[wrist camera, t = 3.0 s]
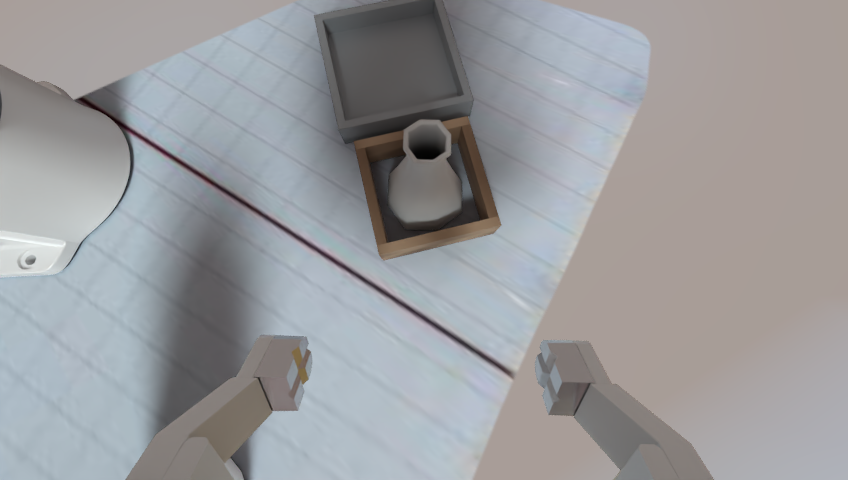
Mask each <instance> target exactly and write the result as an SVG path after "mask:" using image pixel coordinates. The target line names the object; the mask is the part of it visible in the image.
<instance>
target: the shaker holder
mask: <svg viewBox="0 0 848 480" xmlns="http://www.w3.org/2000/svg"><path fill="white" fill-rule="evenodd" d="M442 124H443V125H444V126H445V127H446V129H447V130H448V131H449V132H450V134H451V144H456V143H458V146H459V150H460V153H461V156H462V160H463V163H464V166H465V170H466V173H467V177H468V180H469V183H470V187H471V190H472V194H473V197H474V200H475V204H476V207H477V211H478V214H479V217H480V221H476V222H472V223H468V224H464V225H460V226H456V227H451V228H447V229H443V230H439V231H435V232H431V233H427V234H423V235H418V236H414V237H410V238H406V239H402V240H398V241H394V242H388V238H387V234H386V230H385V225H384V221H383V217H382V212H381V208H380V204H379V199H378V195H377V191H376V187H375V182H374V178H373V174H372V169H371V165H370V163H371V162H376V161H380V160H385V159H389V158H394V157H398V156H402V155H406V153H405V152H404V151H403V135H404V130H402V131H398V132H393V133H389V134H384V135H380V136H375V137H371V138H366V139H362V140H357V141H354V145H355V150H356V154H357V159H358V163H359V167H360V172H361V176H362V181H363V185H364V190H365V194H366V199H367V203H368V208H369V212H370V216H371V221H372V225H373V230H374V234H375V239H376V243H377V248H378V252H379V255H380V257H381V258H382V259H383V260H387V259H391V258H395V257H399V256H404V255H408V254H412V253H416V252H420V251H424V250H428V249H432V248H436V247H440V246H444V245H449V244H453V243H457V242H461V241H465V240H469V239H473V238H477V237H481V236H485V235H489V234H493V233H494V232H495V231H496V230H497V229H498V228H499V227H500V226H501V223H500V219H499V216H498V213H497V210H496V206H495V203H494V200H493V197H492V193H491V190H490V187H489V184H488V180H487V177H486V174H485V171H484V167H483V164H482V161H481V158H480V154H479V151H478V148H477V145H476V141H475V138H474V135H473V131H472V128H471V125H470V122H469V118H468V116H466V117H461V118H457V119H452V120H447V121H443V122H442Z"/></svg>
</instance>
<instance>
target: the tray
mask: <svg viewBox="0 0 848 480" xmlns="http://www.w3.org/2000/svg"><path fill="white" fill-rule="evenodd" d="M314 18H315V23H316V27H317V32H318V36H319V41H320V46H321V50H322V55H323V60H324V64H325V69H326V73H327V78H328V83H329V87H330V92H331V97H332V101H333V106H334V110H335V115H336V120H337V124H338V129H339V131H340V134H341V136H342V138H343V140H344V142H345V144H346V143H350V142H354V141H357V140H362V139H366V138H371V137H375V136H380V135H384V134H389V133H393V132H398V131H402V130H404V129H406V128H407V127H409V126H410V125H412V124H413V123H415V122H417V121H418V120H420V119H424V120H440V121H441V122H443V121H447V120H452V119H457V118H461V117H466V116H470V112H471V109H472V105H473V101H474V100H473V97H472V93H471V90H470V87H469V84H468V81H467V78H466V74H465V71H464V68H463V65H462V62H461V58H460V55H459V52H458V49H457V46H456V43H455V39H454V36H453V33H452V30H451V27H450V23H449V20H448V17H447V14H446V11H445V8H444V4H443V1H442V0H389V1H384V2H379V3H374V4H369V5H364V6H359V7H353V8H348V9H343V10H338V11H333V12H328V13H323V14H318V15H314Z"/></svg>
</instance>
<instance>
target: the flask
mask: <svg viewBox="0 0 848 480" xmlns="http://www.w3.org/2000/svg"><path fill="white" fill-rule="evenodd" d="M403 151H404V152H405V153H406V157H405V158H404V159H403V161H402V162H401V163H400V164H399V165H398V166H397V167H396V168H395V169H394V170H393V171H392V172H391V173H390V174H389V179H388V201H387V205H388V206H389V208H390V209H391V210H392V212H393V213H394V215H395V216H396V217H397V219H398V220H399V221H400V223H401V224H402V226H403V227H404V228H405V229H408V230H438V229H439V228H441V227H442V226H444V225H445V224H447V223H448V222H449V221H451V220H452V219H454V218H455V217H457V216H458V215H459V214H461V213H462V182H461V180H460V179H459V177H458V176H457V175H456V174H455V172H454V171H453V169H452V168H451V166H450V165H449V163H448V162H447V159H446V158H448V157H449V156H450V155H451V134H450V132H449V131H448V130H447V129H446V127H445V126H444V125H443V124H442V122H441V121H440V120H424V119H420V120H418V121H417V122H415V123H413V124H412V125H410V126H409V127H407V128H406V129H404V135H403Z"/></svg>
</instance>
